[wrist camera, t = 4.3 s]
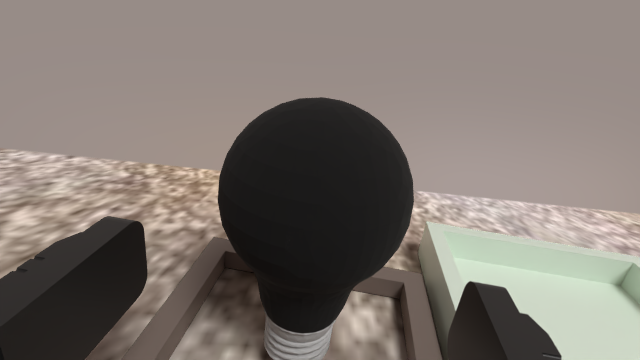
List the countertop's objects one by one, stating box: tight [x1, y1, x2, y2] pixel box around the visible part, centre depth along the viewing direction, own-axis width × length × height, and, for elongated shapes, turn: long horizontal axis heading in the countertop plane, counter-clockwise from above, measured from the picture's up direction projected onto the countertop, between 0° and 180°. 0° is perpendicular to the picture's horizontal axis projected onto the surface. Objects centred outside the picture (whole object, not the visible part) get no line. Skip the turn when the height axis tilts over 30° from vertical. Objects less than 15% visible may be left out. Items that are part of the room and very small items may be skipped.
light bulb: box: [218, 98, 414, 360], centre depth 12 cm, size 6×6×10 cm
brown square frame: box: [122, 237, 442, 360], centre depth 14 cm, size 11×11×1 cm
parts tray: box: [418, 222, 640, 360], centre depth 15 cm, size 12×12×2 cm
